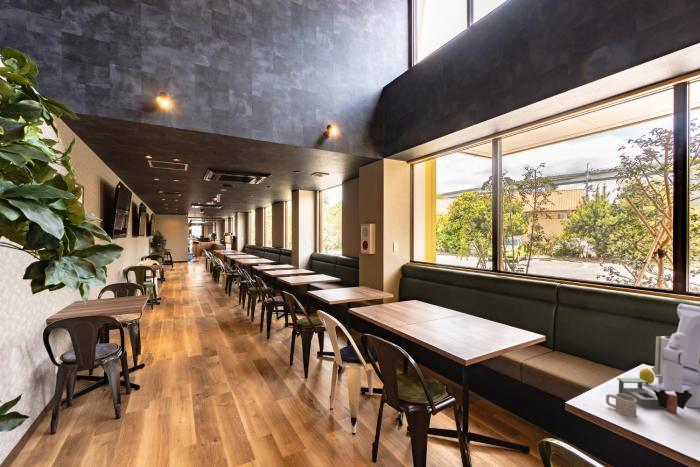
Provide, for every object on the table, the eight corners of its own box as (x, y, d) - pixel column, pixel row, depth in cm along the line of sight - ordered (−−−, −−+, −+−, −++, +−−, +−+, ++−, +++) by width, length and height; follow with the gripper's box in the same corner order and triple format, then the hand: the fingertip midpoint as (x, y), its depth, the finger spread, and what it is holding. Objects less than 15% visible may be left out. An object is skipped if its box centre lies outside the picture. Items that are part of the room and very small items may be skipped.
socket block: (639, 392, 151) (639, 378, 151) (665, 407, 139) (666, 391, 139) (616, 392, 151) (616, 377, 151) (640, 407, 139) (641, 391, 139)
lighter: (670, 385, 159) (670, 369, 159) (669, 386, 158) (670, 370, 158) (650, 380, 164) (651, 365, 164) (650, 381, 163) (650, 366, 163)
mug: (636, 412, 134) (637, 397, 134) (635, 419, 130) (636, 403, 130) (606, 403, 142) (607, 388, 141) (604, 409, 137) (605, 393, 137)
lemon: (656, 387, 157) (657, 371, 156) (643, 386, 158) (644, 370, 158) (648, 382, 162) (649, 366, 162) (636, 381, 163) (636, 365, 163)
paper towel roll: (677, 378, 166) (678, 338, 166) (673, 381, 163) (674, 340, 163) (658, 373, 173) (660, 334, 172) (654, 375, 170) (656, 336, 169)
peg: (671, 409, 137) (671, 393, 137) (679, 413, 134) (679, 397, 134) (663, 409, 137) (664, 393, 137) (671, 413, 134) (672, 397, 134)
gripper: (665, 380, 131) (664, 412, 132) (699, 381, 132) (698, 413, 132) (649, 372, 138) (648, 403, 139) (681, 373, 139) (680, 403, 139)
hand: (671, 407), depth 136 cm, fingers open, 7 cm apart
